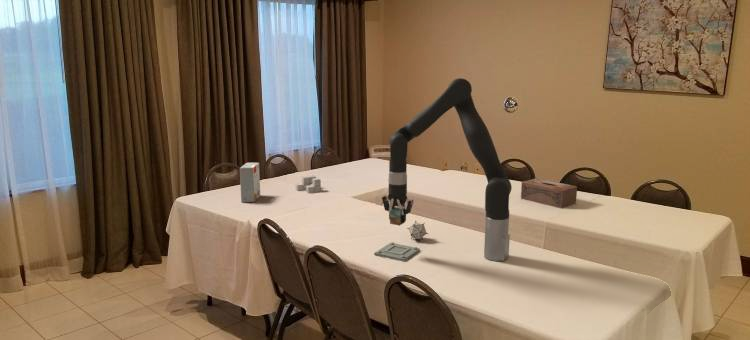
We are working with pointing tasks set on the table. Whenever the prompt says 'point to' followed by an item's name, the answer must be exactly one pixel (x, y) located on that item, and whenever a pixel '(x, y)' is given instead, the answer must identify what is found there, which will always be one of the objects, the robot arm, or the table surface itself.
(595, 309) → the table surface
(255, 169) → the hard drive box
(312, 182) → the grey block assembly
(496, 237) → the robot arm
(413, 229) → the grey faceted piece
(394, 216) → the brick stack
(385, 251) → the baseplate
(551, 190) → the tissue box cover
